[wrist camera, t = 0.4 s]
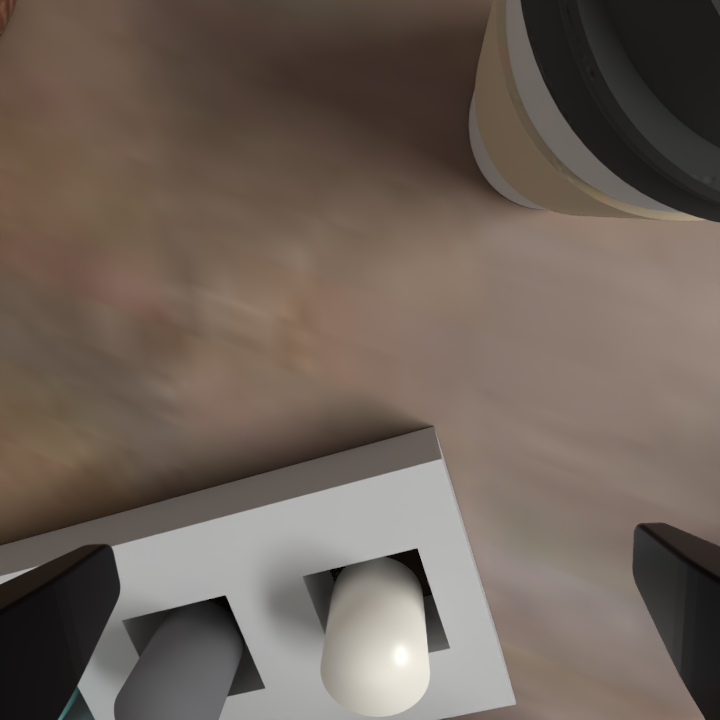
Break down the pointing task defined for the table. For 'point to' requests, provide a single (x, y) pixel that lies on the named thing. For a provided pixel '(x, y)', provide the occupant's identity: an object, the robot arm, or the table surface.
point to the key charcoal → (184, 667)
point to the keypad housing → (292, 578)
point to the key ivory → (376, 639)
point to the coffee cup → (601, 107)
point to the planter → (5, 12)
